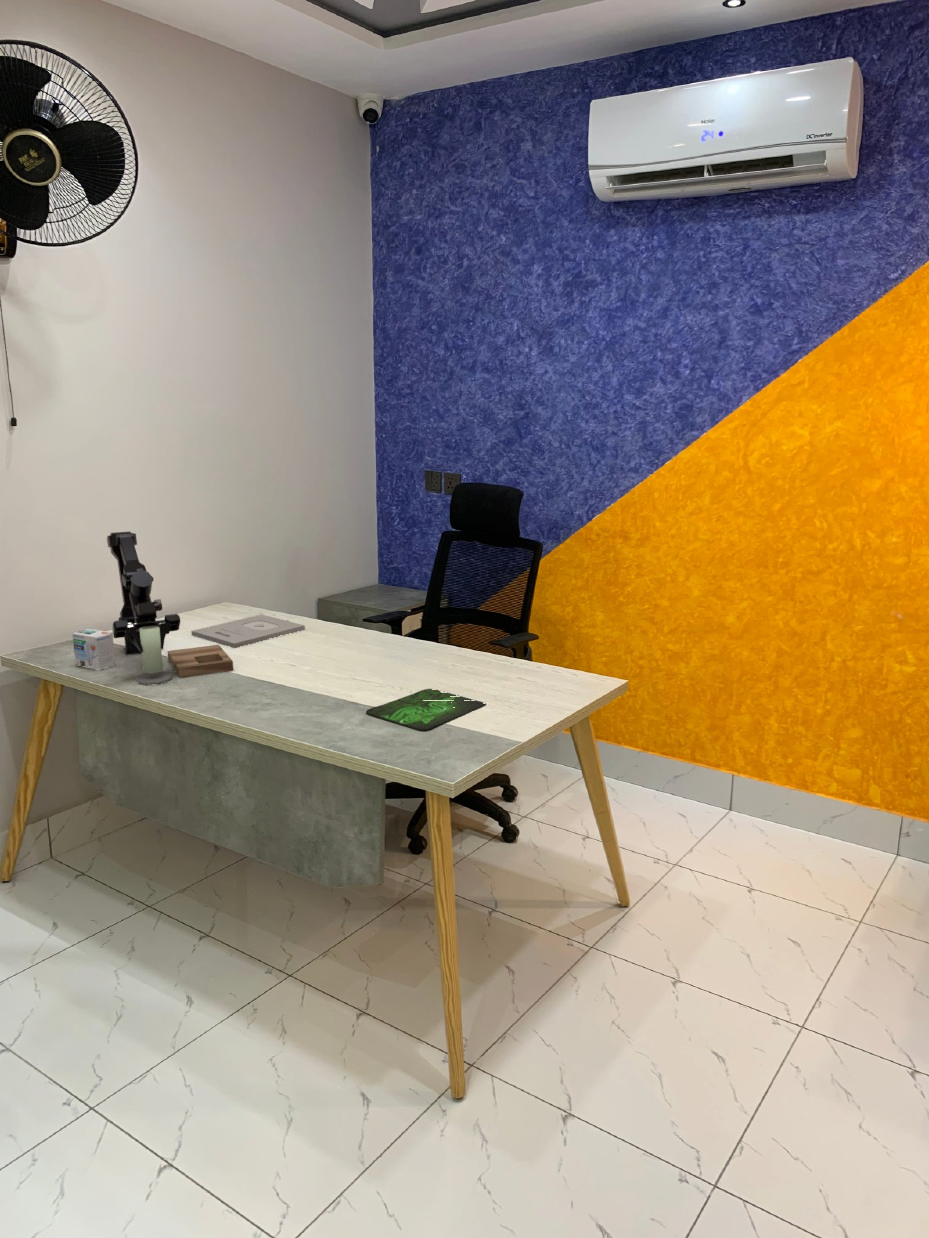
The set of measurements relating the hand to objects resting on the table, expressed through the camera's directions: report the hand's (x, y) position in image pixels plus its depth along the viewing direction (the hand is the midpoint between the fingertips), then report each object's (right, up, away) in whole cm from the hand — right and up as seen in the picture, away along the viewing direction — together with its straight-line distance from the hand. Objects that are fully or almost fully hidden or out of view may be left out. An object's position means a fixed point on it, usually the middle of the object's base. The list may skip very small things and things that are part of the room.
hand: (152, 650), depth 267 cm
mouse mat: (+81, -16, -20) cm, 85 cm away
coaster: (-1, -9, +4) cm, 10 cm away
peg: (-1, -6, +3) cm, 7 cm away
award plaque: (+15, +4, +54) cm, 57 cm away
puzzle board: (+9, -5, +17) cm, 20 cm away
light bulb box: (-23, -6, +17) cm, 29 cm away
